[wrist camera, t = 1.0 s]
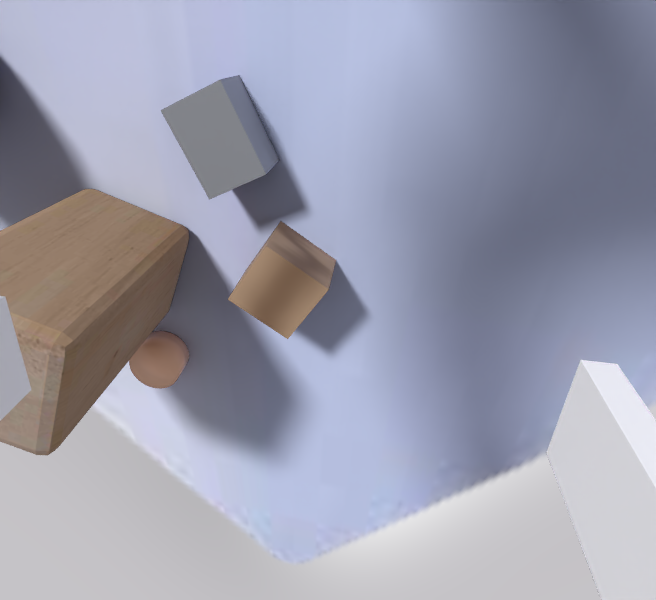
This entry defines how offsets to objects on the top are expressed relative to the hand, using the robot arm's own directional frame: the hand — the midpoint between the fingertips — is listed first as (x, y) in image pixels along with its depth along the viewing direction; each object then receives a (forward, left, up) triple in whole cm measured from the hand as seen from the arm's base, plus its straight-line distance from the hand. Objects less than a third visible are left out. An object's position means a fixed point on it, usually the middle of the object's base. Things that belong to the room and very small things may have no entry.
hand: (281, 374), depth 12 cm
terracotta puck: (+7, -28, -32) cm, 43 cm away
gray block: (-6, -8, -32) cm, 33 cm away
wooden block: (-3, -23, -32) cm, 40 cm away
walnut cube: (+6, -11, -32) cm, 34 cm away
